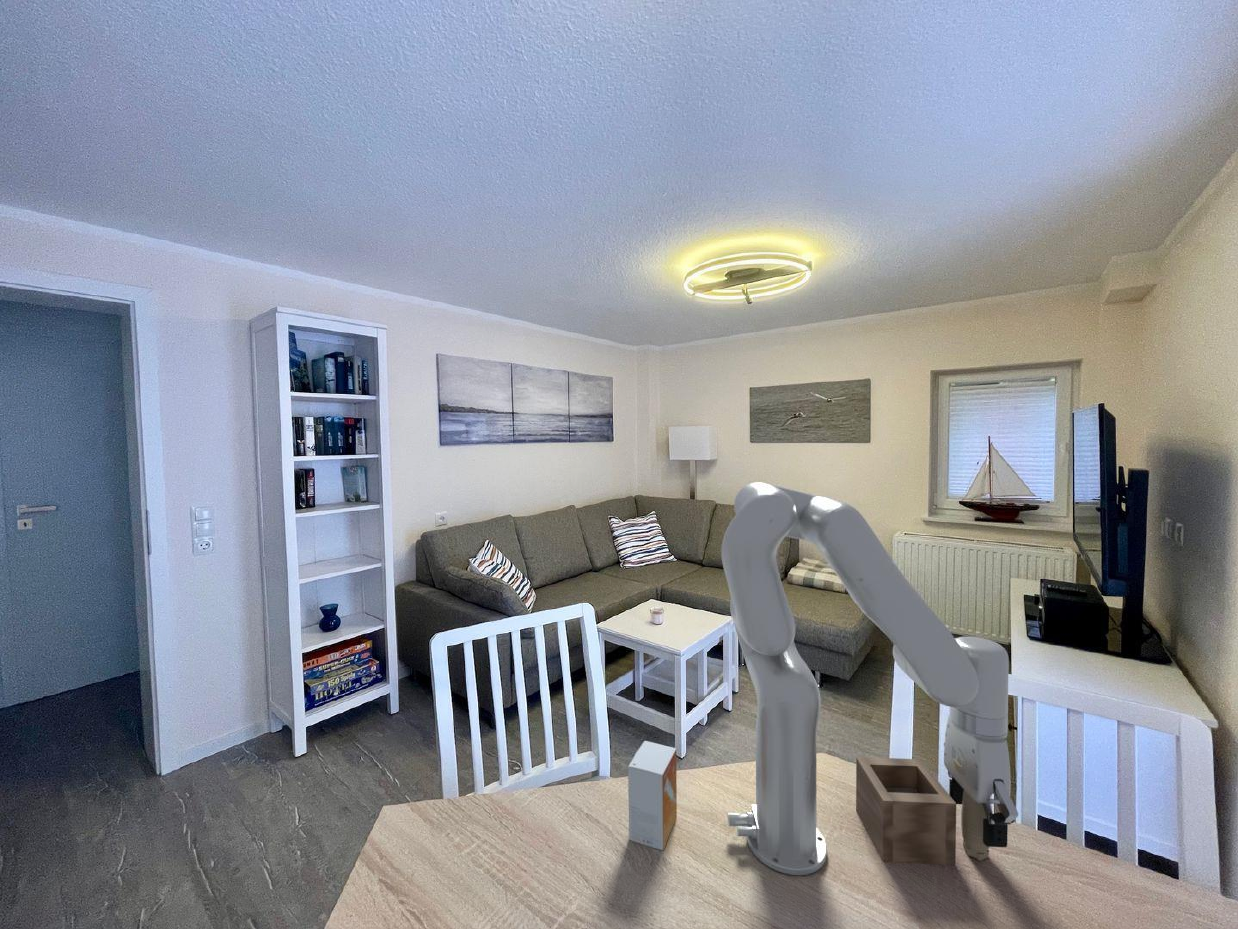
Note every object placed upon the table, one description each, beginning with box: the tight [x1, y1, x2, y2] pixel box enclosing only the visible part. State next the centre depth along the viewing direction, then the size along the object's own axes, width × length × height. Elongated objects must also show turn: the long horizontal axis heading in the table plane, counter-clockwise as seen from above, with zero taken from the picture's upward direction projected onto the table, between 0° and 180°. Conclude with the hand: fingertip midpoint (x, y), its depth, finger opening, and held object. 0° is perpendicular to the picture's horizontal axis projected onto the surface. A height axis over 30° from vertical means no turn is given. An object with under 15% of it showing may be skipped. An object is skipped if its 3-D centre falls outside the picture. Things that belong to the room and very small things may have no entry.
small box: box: [627, 740, 678, 851], centre depth 87 cm, size 8×6×13 cm
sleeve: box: [855, 756, 957, 866], centre depth 85 cm, size 11×11×10 cm
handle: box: [953, 757, 990, 861], centre depth 81 cm, size 5×6×15 cm
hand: (976, 823), depth 81 cm, fingers open, 8 cm apart
